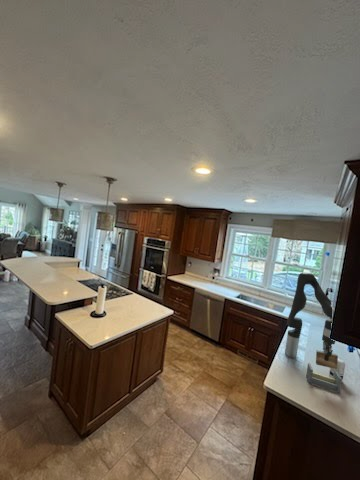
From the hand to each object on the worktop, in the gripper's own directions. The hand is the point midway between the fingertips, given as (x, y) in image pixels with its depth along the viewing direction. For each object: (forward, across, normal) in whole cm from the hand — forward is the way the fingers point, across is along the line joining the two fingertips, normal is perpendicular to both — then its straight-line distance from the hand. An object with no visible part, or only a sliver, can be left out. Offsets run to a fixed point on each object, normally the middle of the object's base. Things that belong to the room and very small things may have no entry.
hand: (325, 359), depth 148 cm
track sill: (+18, 0, 0) cm, 18 cm away
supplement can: (+18, -13, +12) cm, 26 cm away
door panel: (+5, 0, +1) cm, 5 cm away
